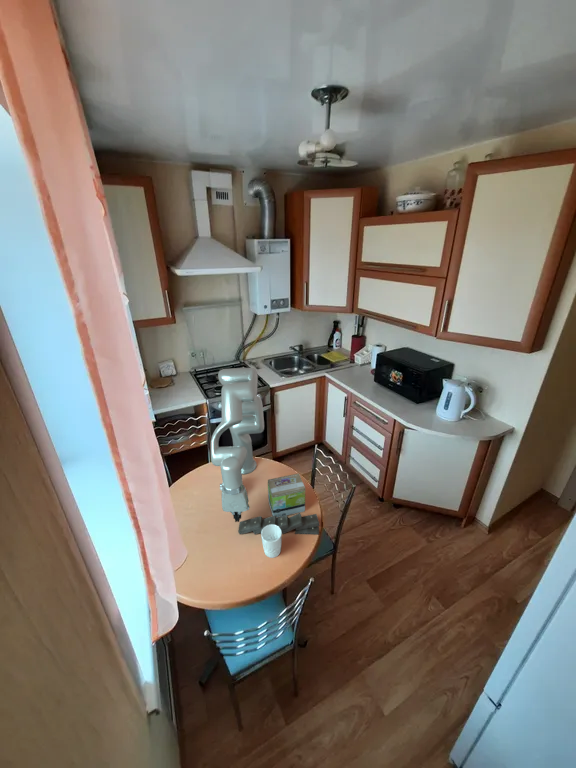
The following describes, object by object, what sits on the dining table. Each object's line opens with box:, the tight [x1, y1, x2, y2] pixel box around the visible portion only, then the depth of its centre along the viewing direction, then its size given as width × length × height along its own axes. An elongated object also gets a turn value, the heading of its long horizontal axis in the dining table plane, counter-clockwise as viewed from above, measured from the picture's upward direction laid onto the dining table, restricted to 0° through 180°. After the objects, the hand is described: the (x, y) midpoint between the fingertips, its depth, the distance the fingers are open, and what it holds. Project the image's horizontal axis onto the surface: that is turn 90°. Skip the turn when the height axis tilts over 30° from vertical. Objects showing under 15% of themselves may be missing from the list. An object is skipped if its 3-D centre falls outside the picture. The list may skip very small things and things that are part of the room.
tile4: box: [296, 513, 320, 531], centre depth 134 cm, size 5×2×10 cm
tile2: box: [277, 515, 289, 530], centre depth 132 cm, size 5×2×10 cm
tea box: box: [267, 473, 306, 518], centre depth 141 cm, size 15×10×15 cm, turn 105°
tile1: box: [252, 515, 278, 535], centre depth 132 cm, size 5×2×10 cm
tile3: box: [281, 512, 303, 535], centre depth 133 cm, size 5×2×10 cm
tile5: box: [294, 525, 320, 536], centre depth 133 cm, size 5×2×10 cm
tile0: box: [238, 515, 264, 535], centre depth 133 cm, size 5×2×10 cm
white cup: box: [260, 524, 283, 559], centre depth 123 cm, size 8×8×10 cm
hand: (237, 519), depth 131 cm, fingers closed
